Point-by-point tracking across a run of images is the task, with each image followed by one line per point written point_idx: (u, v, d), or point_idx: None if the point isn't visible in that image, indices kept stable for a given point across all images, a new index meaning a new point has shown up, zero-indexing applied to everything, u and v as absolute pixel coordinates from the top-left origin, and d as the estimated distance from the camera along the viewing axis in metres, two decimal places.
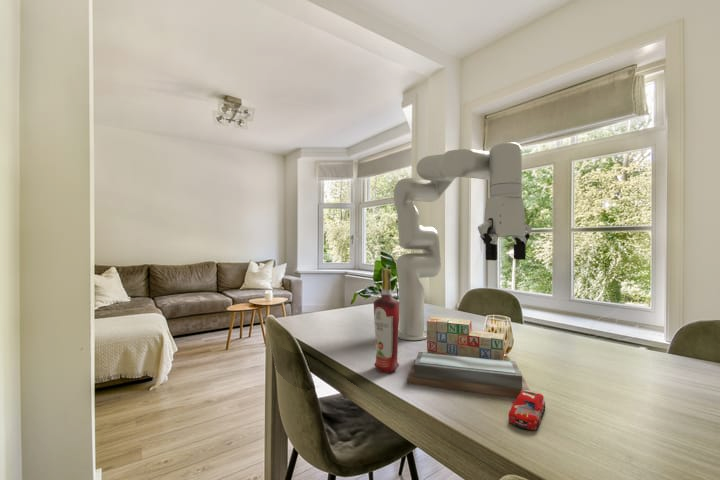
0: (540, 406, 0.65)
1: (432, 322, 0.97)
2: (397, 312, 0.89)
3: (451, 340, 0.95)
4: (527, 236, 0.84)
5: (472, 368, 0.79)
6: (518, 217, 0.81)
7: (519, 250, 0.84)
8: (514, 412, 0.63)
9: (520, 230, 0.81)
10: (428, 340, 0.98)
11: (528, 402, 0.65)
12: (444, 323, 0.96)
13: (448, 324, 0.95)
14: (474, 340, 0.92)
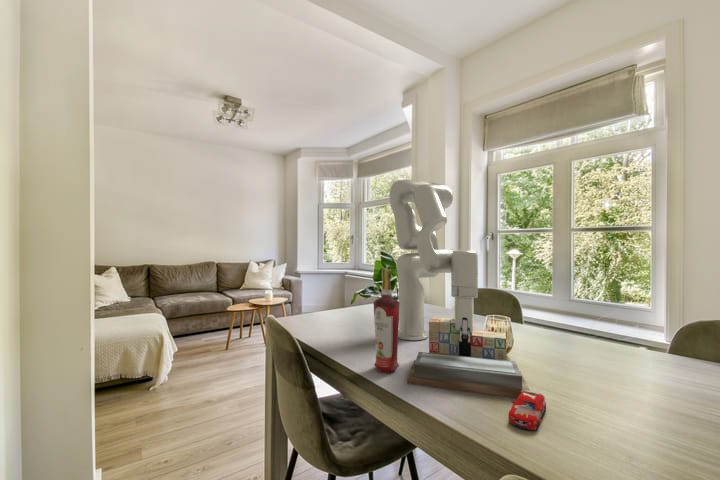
0: (540, 406, 0.65)
1: (434, 322, 0.96)
2: (397, 312, 0.89)
3: (453, 340, 0.94)
4: None
5: (472, 368, 0.79)
6: None
7: None
8: (514, 412, 0.63)
9: None
10: (430, 341, 0.97)
11: (528, 402, 0.65)
12: (447, 323, 0.95)
13: (451, 324, 0.94)
14: (477, 339, 0.92)
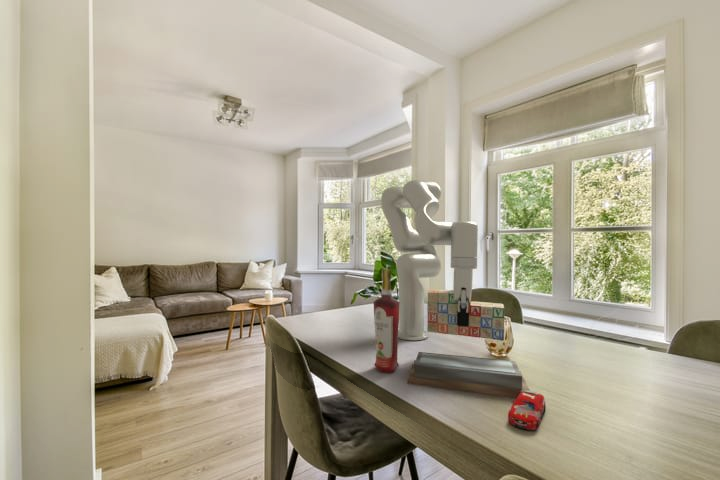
0: (540, 406, 0.65)
1: (433, 293, 0.97)
2: (397, 312, 0.89)
3: (452, 310, 0.95)
4: None
5: (472, 368, 0.79)
6: None
7: None
8: (513, 412, 0.63)
9: None
10: (429, 311, 0.97)
11: (527, 402, 0.65)
12: (445, 294, 0.95)
13: (450, 295, 0.95)
14: (475, 309, 0.92)
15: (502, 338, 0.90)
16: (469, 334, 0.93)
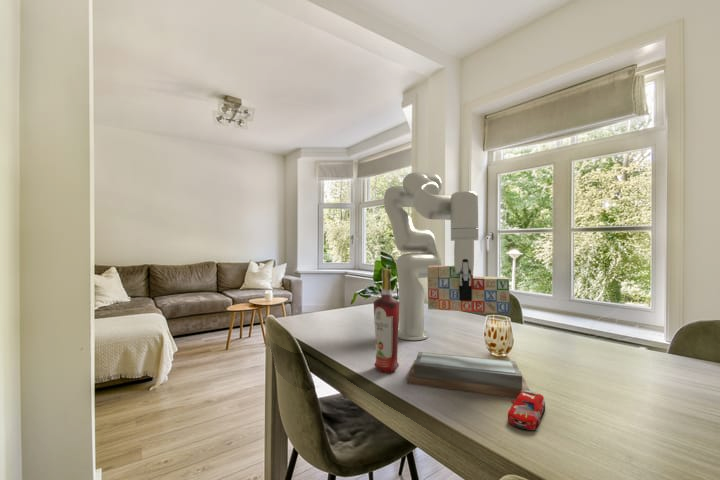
0: (540, 407, 0.65)
1: (433, 268, 0.92)
2: (397, 312, 0.89)
3: (454, 285, 0.89)
4: None
5: (472, 368, 0.79)
6: None
7: None
8: (513, 412, 0.63)
9: None
10: (429, 287, 0.92)
11: (527, 402, 0.65)
12: (446, 268, 0.90)
13: (451, 268, 0.90)
14: (478, 282, 0.87)
15: (508, 311, 0.85)
16: (472, 309, 0.88)
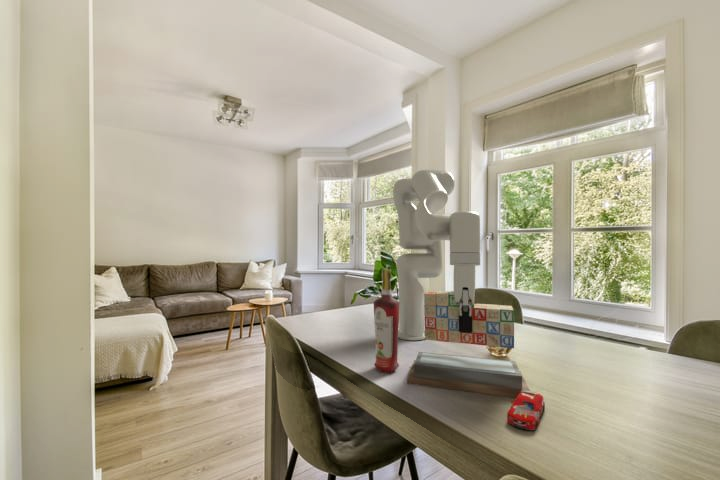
0: (539, 407, 0.65)
1: (431, 295, 0.84)
2: (397, 312, 0.89)
3: (453, 314, 0.82)
4: None
5: (472, 368, 0.79)
6: None
7: None
8: (513, 412, 0.63)
9: None
10: (426, 316, 0.84)
11: (527, 402, 0.65)
12: (445, 295, 0.82)
13: (450, 296, 0.82)
14: (480, 312, 0.79)
15: (512, 346, 0.76)
16: (473, 342, 0.80)
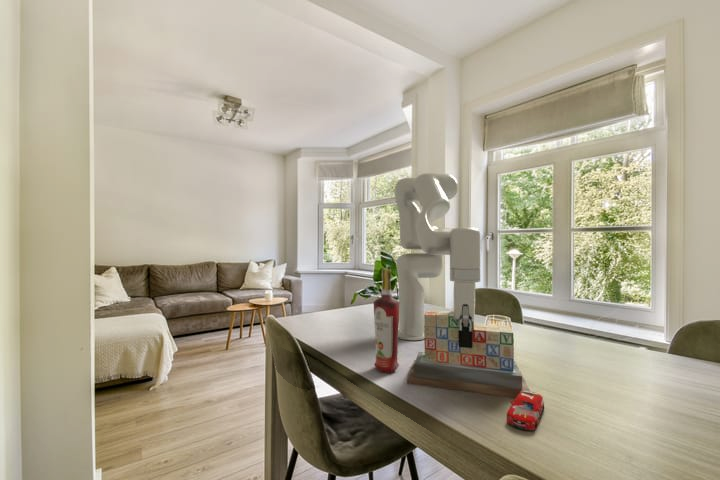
0: (539, 407, 0.65)
1: (431, 316, 0.84)
2: (397, 312, 0.89)
3: (453, 335, 0.82)
4: None
5: (472, 368, 0.79)
6: None
7: None
8: (512, 412, 0.63)
9: None
10: (426, 337, 0.84)
11: (526, 402, 0.65)
12: (445, 316, 0.83)
13: (450, 317, 0.82)
14: (479, 334, 0.80)
15: (512, 368, 0.77)
16: (473, 363, 0.80)
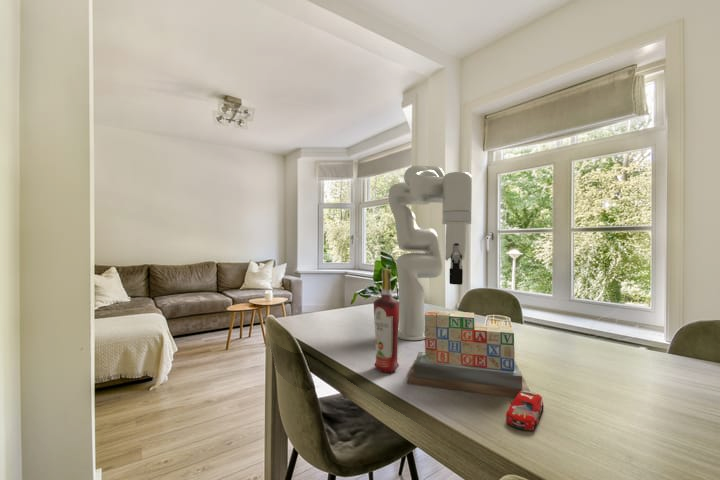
0: (538, 407, 0.65)
1: (431, 316, 0.84)
2: (397, 312, 0.89)
3: (453, 336, 0.82)
4: None
5: (472, 368, 0.79)
6: None
7: None
8: (511, 412, 0.63)
9: None
10: (426, 337, 0.84)
11: (525, 402, 0.65)
12: (445, 317, 0.83)
13: (450, 318, 0.82)
14: (480, 334, 0.80)
15: (512, 369, 0.77)
16: (474, 364, 0.80)
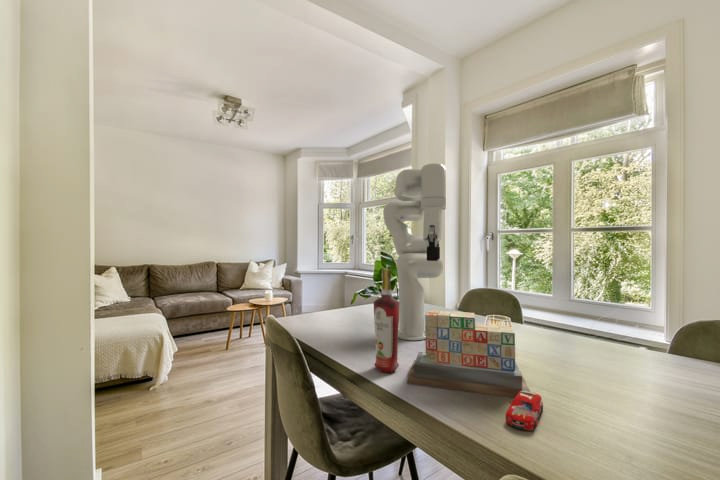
0: (537, 407, 0.65)
1: (432, 316, 0.84)
2: (397, 312, 0.89)
3: (454, 336, 0.82)
4: None
5: (472, 368, 0.79)
6: None
7: None
8: (511, 412, 0.63)
9: None
10: (427, 337, 0.84)
11: (525, 402, 0.65)
12: (446, 317, 0.82)
13: (451, 318, 0.82)
14: (481, 335, 0.79)
15: (513, 369, 0.77)
16: (474, 364, 0.80)
